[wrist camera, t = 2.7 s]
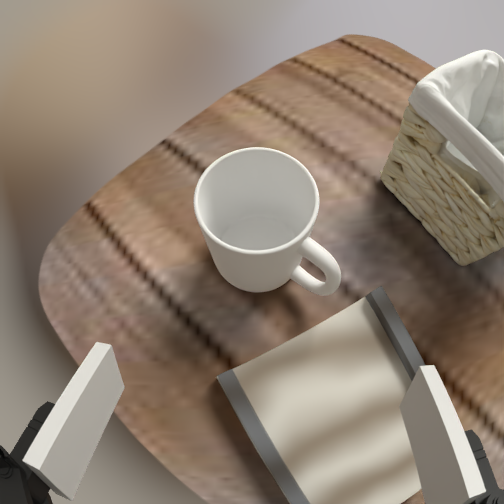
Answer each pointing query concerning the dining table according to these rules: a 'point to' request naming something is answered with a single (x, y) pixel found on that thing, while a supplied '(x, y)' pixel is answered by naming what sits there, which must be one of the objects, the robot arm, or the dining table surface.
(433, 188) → the storage basket
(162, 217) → the dining table surface
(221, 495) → the dining table surface
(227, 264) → the cup
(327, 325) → the rail board
